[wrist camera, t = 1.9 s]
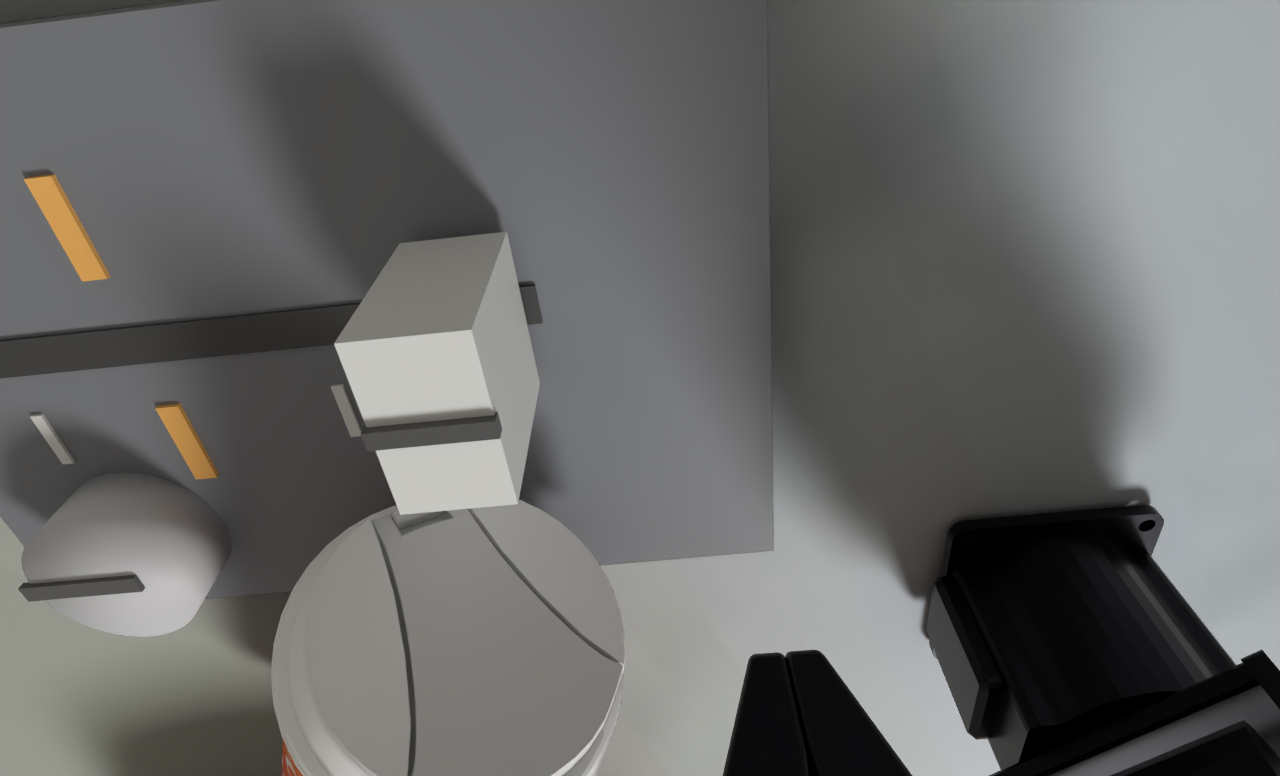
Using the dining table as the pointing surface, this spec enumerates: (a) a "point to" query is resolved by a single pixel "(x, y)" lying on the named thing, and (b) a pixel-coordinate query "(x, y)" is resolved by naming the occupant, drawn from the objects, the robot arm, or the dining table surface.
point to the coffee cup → (449, 650)
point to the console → (369, 274)
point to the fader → (445, 373)
